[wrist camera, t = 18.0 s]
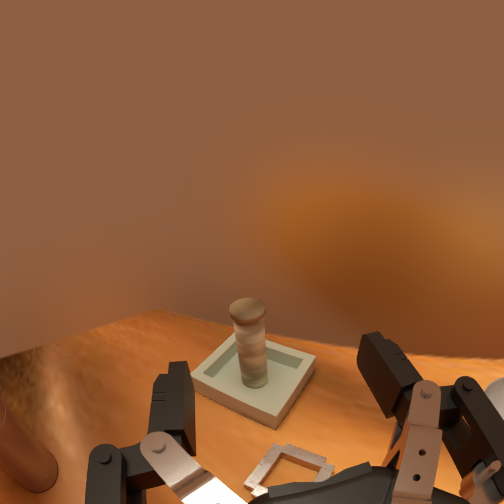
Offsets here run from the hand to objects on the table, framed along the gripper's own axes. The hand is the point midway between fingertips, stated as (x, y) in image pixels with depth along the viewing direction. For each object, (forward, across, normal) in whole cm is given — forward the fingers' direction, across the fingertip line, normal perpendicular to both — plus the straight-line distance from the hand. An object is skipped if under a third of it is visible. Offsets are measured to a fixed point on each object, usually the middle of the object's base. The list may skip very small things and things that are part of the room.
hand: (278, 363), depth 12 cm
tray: (+24, -1, +30) cm, 39 cm away
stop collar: (+5, -3, +30) cm, 31 cm away
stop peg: (+24, -1, +29) cm, 38 cm away
